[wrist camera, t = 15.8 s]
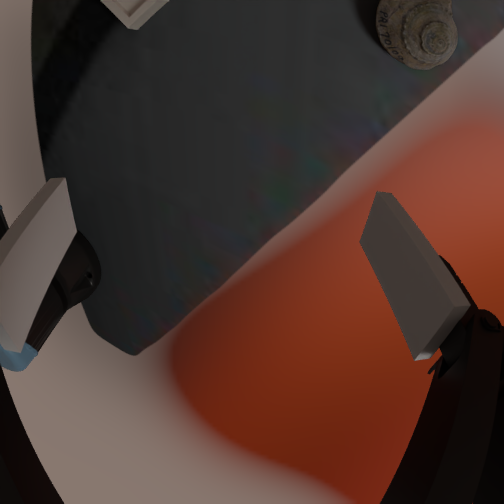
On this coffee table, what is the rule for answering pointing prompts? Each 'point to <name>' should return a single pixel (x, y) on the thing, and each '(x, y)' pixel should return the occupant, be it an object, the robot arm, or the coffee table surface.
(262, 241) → the coffee table surface
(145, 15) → the tray
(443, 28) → the fossilized seashell
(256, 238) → the coffee table surface
